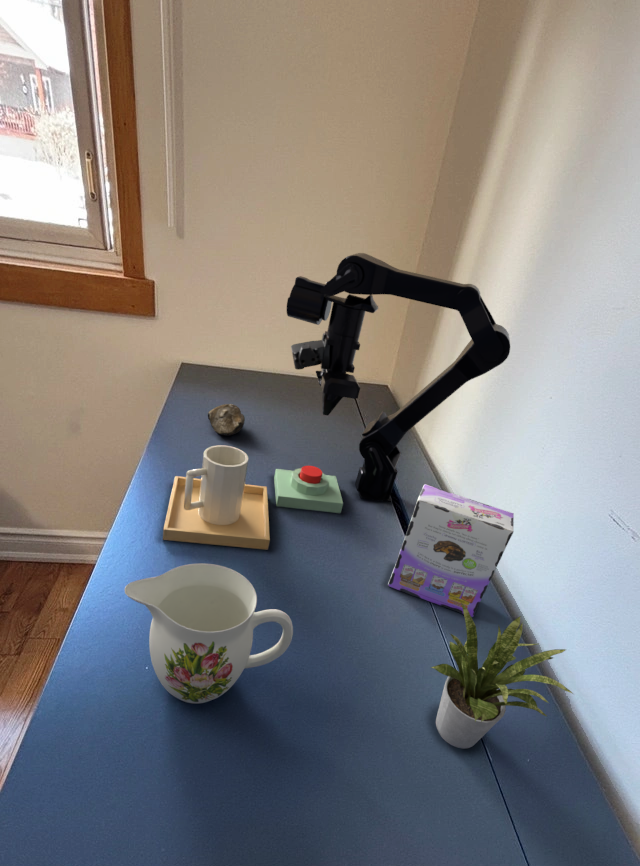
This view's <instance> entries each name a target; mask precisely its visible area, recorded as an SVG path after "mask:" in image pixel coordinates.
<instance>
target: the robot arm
mask: <svg viewBox="0 0 640 866" xmlns="http://www.w3.org/2000/svg"><path fill="white" fill-rule="evenodd" d="M343 292H345V293H347V296H346V297H342V296H338V294H341V293H343ZM358 295H363V296H364V295H367V296H366V297H360V296H358ZM374 295H387V296H395V297H398V298H403V299H407V300H412V301H416V302H420V303H424V304H429V305H432V306H433V305H434V306H437V307H440V308H441V307H442V308H447V309H450V310H454V311H457V312H458V313H459V315H460V317H461V320H462V321H463V324H464V325H465V328H466V330H467V333H468V335H469V336H470V341H469V342H467V344H466V346H464V348H463V349H462V351H461V352H460V353H459V355H458V357H457V358H455V360H454V361H453V362H452V363H451V364H450V365H448V366H447V367H446V368H445V369H444V370H443V371H442V372H440V374H438V375H437V376H436V377H435V378H434V379H433V380H431V381H430V382H429V383H428V384H427V385H426V386H425V387H423V388H422V389H421V390H420V391H419V392H417V394H415V396H413V397H412V398H410V400H409V401H407V403H405V404H404V405H403V406H401V408H399V409H398V410H397V411H396V412H394V413H392V414H389V415H387V413H386V412H385V411H384V410H382V411H381V412H380V414H378V416H377V417H376V418H375V419H374V420H372V421H370V422H368V423H367V425H366V426H365V429H364V430H363V432H362V434H361V436H362V438H361V440H360V442H359V444H358V450H359V453H360V455H361V457H362V458H363V463H362V466H360V467H359V468H358V471H357V475H356V480H355V483H354V485H355V489H356V491H357V494H358V496H359V498H360V499H361V500H367V501H375V502H383V503H384V502H385V503H392V502H393V499H392V496H391V493H392V491H393V488H394V484H395V482H396V478H397V475H398V472H399V471H398V469H397V465H398V463H399V460H400V458H401V455H402V452H401V451H400V449H399V447H398V445H399V443H400V442H401V441H402V439H403V437H404V436H405V434H406V433H408V431H410V430H411V429H412V428H413V427H415V426H416V425H417V424H418V423H420V422H421V421H422V420H423V419H424V418H426V416H428V415H429V414H430V413H431V412H433V411H434V410H435V409H436V408H438V407H439V406H440V405H441V404H442V403H443V402H445V401H446V400H447V399H448V398H450V397H451V396H452V395H453V394H454V393H455V392H457V391H458V390H459V389H460V388H461V387H462V386H464V385H465V384H466V383H468V382H469V381H471V380H474V379H476V378H479V377H480V376H483V375H485V374H487V373H488V372H491V370H493V369H495V368H497V367H498V366H500V365H502V364H503V363H505V361H506V360H507V359H508V358H509V355H510V351H511V340H510V333H509V331H508V330H507V329H506V327H504V326H503V325H501V324H498V323H496V321H495V319H494V317H493V315H492V313H491V311H490V310H489V308H488V306H487V305H486V303H485V301H484V300H483V297H482V296H481V291H480V289H479V288H478V287H477V286H476V285H474V284H472V283H460V282H456V281H452V280H447V279H444V278H438V277H434V276H430V275H425V274H421V273H416V272H412V271H408V270H403V269H399V268H397V267H394V266H393V265H390V264H389V263H387V262H385V261H383V260H382V259H379V258H377V257H375V256H372V255H370V254H368V253H364V252H357V253H353V254H350V255H347V256H346V257H344V258H343V259H342V260H340V262H339V263H338V265H337V268H336V274H335V275H334V276H332V278H330V280H327V281H326V282H325V283H322V282H318V281H315V280H311V279H309V278H307V277H306V276H303V275H299V276H297V277H295V280H294V284H293V286H292V288H291V290H290V294H289V296H288V297H287V301H286V316H287V317H289V318H292V319H296V320H300V321H303V322H305V323H309V324H314V325H317V326H319V325H320V324H321V323H322V321H324V322H326V321H327V320H328V318H329V321H328V325H327V326H328V327H327V330H325V331H324V332H323V333H322V337H321V339H318V340H309V341H305V342H298V343H294V344H292V345H290V349H291V354H292V355H291V356H292V360H293V365H294V369H295V370H304V369H305V368H309V367H316V366H319V365H320V369H319V370H315V374H316V377H317V381H318V384H319V386H320V389H321V393H322V397H321V401H322V403H321V404H322V406H321V407H322V410H321V411H322V414H323V416H329V415H330V414H331V413H332V412H333V411H334V409H335V408H336V407H337V405H338V404H339V403H340V401H342V399H343V398H346V399H352V400H353V399H354V400H356V399H358V398H359V395H360V390H361V386H360V384H359V381H358V380H357V379H356V377H355V376H354V372H355V369H356V368H355V365H354V360H355V357H356V352H357V351H360V347H361V343H360V341H359V340H360V337H361V331H362V327H363V324H364V320H365V314H366V312H367V313H370V314H375V312H377V311H378V310H379V305H378V304H377V303H376V301H375V299H374V297H373V296H374ZM350 373H351V374H350Z"/></svg>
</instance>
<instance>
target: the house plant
mask: <svg viewBox="0 0 640 866" xmlns="http://www.w3.org/2000/svg"><path fill="white" fill-rule="evenodd" d="M461 604H462V601H461ZM462 608H463V613H464V614H463V615H464V616H463V617H464V625H465V631H466V641H465V643H464V644H463V643H462V642H461V640H460V639H459V638H458V637H457V636H456V635H454V634H452V633H450V636H451V638H452V639H453V641H454V642H452V641H449V645H448V646H449V651H450V653H451V655H452V657H453V659H454V662H455V663H456V665H457V668H458V669H456V668H455V667H454V666H452V665H450V664H448V663H440V664H437V665H434V666H431V667H430V669H434V670H435V671H437V672H438V673H440V674H442V675H443V676H445V677H446V676H447V678H446V679H445V682H444V685H443V688H442V689H443V690H442V693H441V698H440V702H439V706H438V709H437V712H436V713H437V714H436V718H435V727H436V729H437V732H438V734H439V735H440V737H441V738H442V739H443V740H444V741H445V742H446V743H447V744H449V745H450V746H452V747H455V748H458V749H471V748H472V747H473V746H475V745H476V744H477V743H478V742H479V741H480V740H481V739H482V738H483V737H484V736H485V735H486V734H487V733H488V732H489V731H490V730H491V729H492V728H493V727H494V726H495V725H496V724H498V722H499V721H500V720H502V718H503V717H504V716H505V714H506V710H507V709H506V706H508V707H509V706H510V707H520V708H525V709H530V710H532V711H536V712H538V713H539V714H540V715H542V716H545V717H548V715H547V714H546V713H545V712H544V711H543V710H541V709H540V708H539V707H538V704H537V700H535V698H534V697H536V698H539V700H542V701H543V702H545V703H547V704H549V701H548V700H547V699H546V698H545V697H544V696H543V695H541V694H540V693H539V692H538V691H535V690H532V689H528V688H508V686H507V685H510V684H514V683H519V682H536V683H542V684H548V685H552V686H556V687H557V688H560V690H563V691H565V692H568V693H570V694H573V695H574V692H572V691H571V690H570V689H569V688H567V687H566V685H564V684H563V683H561V682H559V681H558V680H555V679H554V678H551V677H549V676H546V675H541V674H525V673H526V671H527V669H529V668H532V667H534V666H537V665H539V664H540V663H543V662H545V661H549V660H552V659H554V657H553V656H555V655H559V654H562V653H564V652H566V649H565V648H564V649H563V648H561V649H560V648H559V649H558V648H557V649H549V650H544V651H540V652H538V653H535V654H532V655H530V656H527V657H524V658H523V659H521V660H518V661H516V662H515V663H514V664H510V665H508V666H507V667H506V665H507V664H508V663H509V662H513V661H515V660H516V659H517V657H516V656H514V654H515V652H516V650H517V648H518V647H526V646H529V647H530V646H536V645H539V643H522V642H521V643H520V640H521V637H522V634H523V623H524V622H521V618H522V615H520V616H517V617H516V618H515V619H514V620H512V621H511V622H510V623H509V624H508V626H507V627H506V628H505V629H504V630H503V632H502V630H501V628H500V625H498V627H497V628H498V629H497V636H496V641H495V642H494V644H492V646H491V647H490V648H489V650H488V653H487V657H486V658H485V660H484V661H483V663H482V665H481V667H479V662H478V661H479V659H478V649H479V646H478V645H479V643H478V641H479V640H478V631H477V626H476V624H475V621H474V620H473V617H471V616H470V613H469V611H468V609H467V608H466V607H465V606H464V605H463V604H462ZM503 669H504V670H503ZM533 696H534V697H533ZM509 697H512V698H517V699H519V700H513V701H508V698H509ZM520 700H521V701H520Z"/></svg>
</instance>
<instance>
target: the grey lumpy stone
mask: <svg viewBox="0 0 640 866" xmlns="http://www.w3.org/2000/svg"><path fill="white" fill-rule="evenodd" d="M207 419H208V421H209V423H210V425H211V427H212V429H213V431H214V433H216V434H218V435H220V436H233V435H235V434H238V433H239V432H241V430H242V429H243V427H244V425H245V422H246V418H245V415H244V414H243V413H242V411H241V409H240V407H238V406H237V405H236V404H234V403H233V404H232V403H223V404H221V405H218V406H216V407H214V408H213V409H211V410H209V411H208V412H207Z"/></svg>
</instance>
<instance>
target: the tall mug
mask: <svg viewBox="0 0 640 866" xmlns="http://www.w3.org/2000/svg"><path fill="white" fill-rule="evenodd" d="M249 460H250V459H249V456H248V454H247V453H246V452H245V451H243V450H242V449H240V448H238V447H234V446H231V445H221V444H218V445H212V446H209V447H207V448H206V449H205V450H204V451H203V454H202V466H201V468H195V469H194V468H193V469H190V470H187V471H186V473H185V477H186V485H185V498H184V509H185V510H192V509H197V508H198V509H199V510H198V513H199V516H200V517H201V518H202V519H203V520H204V521H206V522H208V523H211V524H215V525H229V524H233V523H235V522H236V521H237V520H238V519H239V518H240V513H241V508H242V501H243V494H244V487H245V484H246V482H247V481H246V480H247V472H248V466H249ZM197 477H200V479H201V485H200V495H199V501H196V502H192V503H191V501H192V489H193V478H197Z"/></svg>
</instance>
